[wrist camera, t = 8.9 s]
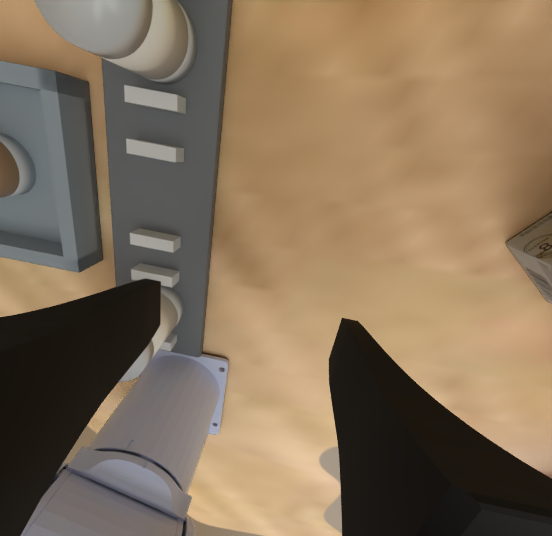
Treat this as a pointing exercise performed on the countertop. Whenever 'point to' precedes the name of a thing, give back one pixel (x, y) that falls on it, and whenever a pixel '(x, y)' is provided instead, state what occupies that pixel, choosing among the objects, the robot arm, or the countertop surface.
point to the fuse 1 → (129, 33)
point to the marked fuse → (15, 168)
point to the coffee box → (536, 254)
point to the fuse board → (169, 171)
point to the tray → (50, 170)
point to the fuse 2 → (159, 330)
